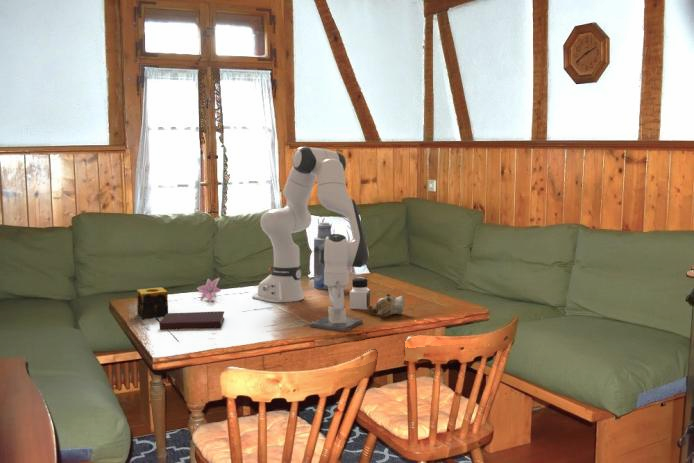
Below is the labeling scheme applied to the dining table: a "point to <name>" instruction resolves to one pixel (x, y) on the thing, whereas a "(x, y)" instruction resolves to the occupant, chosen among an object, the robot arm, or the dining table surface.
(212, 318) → the book
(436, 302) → the dining table surface
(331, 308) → the cream rectangular prism
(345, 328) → the post plate
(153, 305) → the yellow holed cube
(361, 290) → the medicine bottle
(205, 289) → the lily
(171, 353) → the dining table surface
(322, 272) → the grey elongated piece
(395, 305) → the ceramic sculpture
